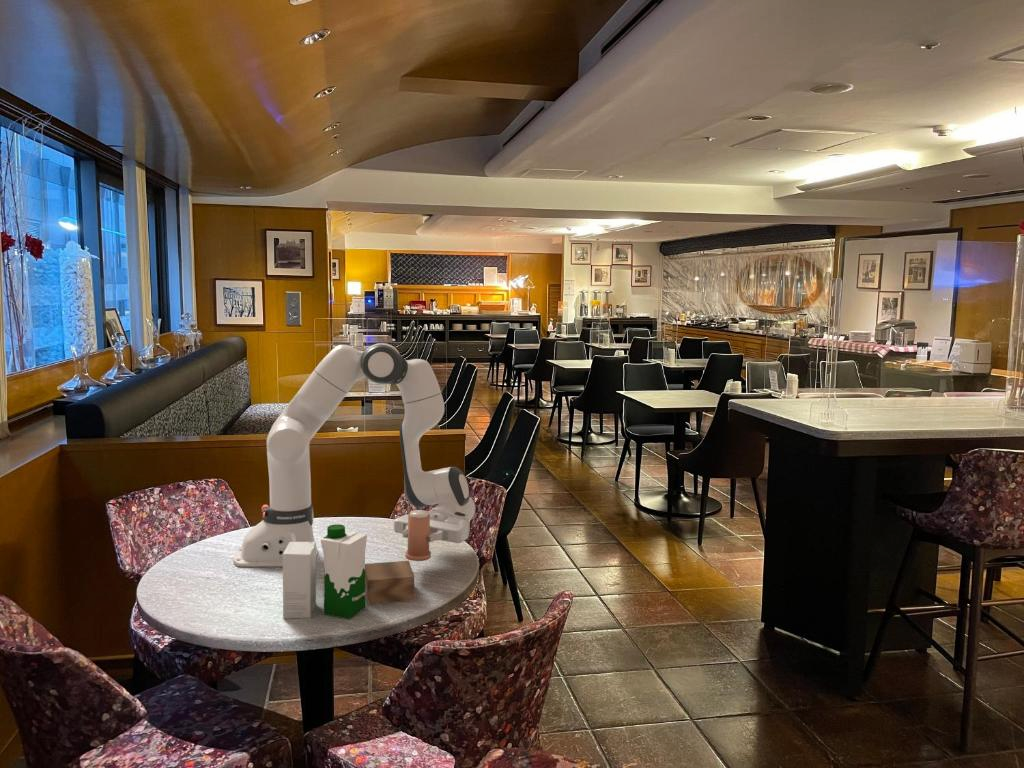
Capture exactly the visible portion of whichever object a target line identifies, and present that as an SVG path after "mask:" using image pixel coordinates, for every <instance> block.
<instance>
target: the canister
mask: <svg viewBox="0 0 1024 768" xmlns="http://www.w3.org/2000/svg"><path fill="white" fill-rule="evenodd" d="M428 511H429V510H424V509H415V510H411V511H410V512H409V513H408V514H409V515H408V538H407V550H406V551H405V554H404V555H405V556H404V557H405V559H407V561H413V562H423V561H427V560H430V559H431V557H432V551H430V542H428V541H427V535H428V534H429V533H430V515H429V514H428Z"/></svg>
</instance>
